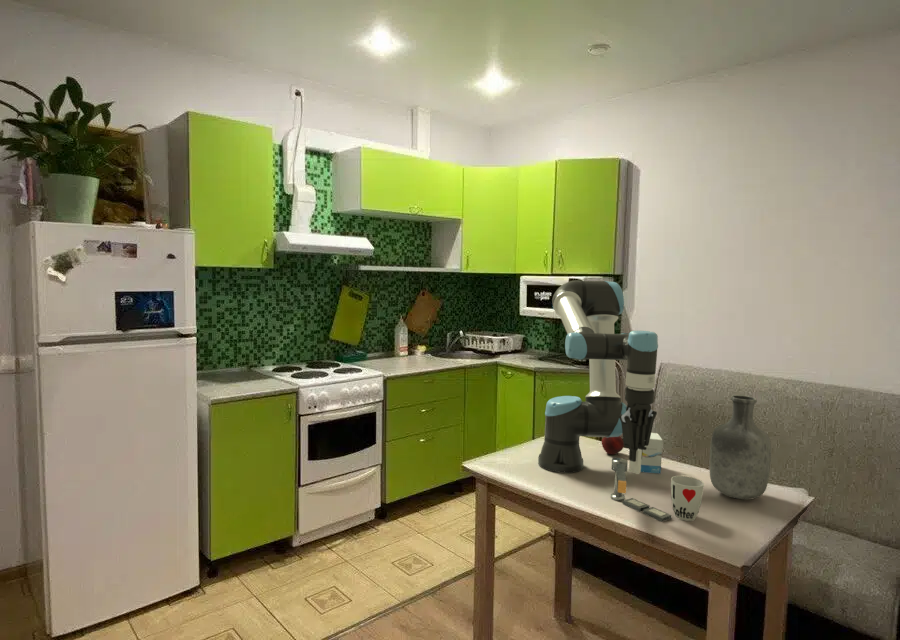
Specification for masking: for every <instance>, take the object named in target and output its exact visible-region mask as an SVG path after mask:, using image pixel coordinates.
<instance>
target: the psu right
mask: <svg viewBox="0 0 900 640" xmlns="http://www.w3.org/2000/svg"><path fill="white" fill-rule="evenodd" d="M642 514H644V515H646V516H648V517H650V518H653V519H655V520H657V521H659V522H665V521H669V520H672V514H670V513H667V512H665V511H663V510H661V509H658V508H656V507H654V506H651V507H650V508H647V509H644V510H643V511H642Z"/></svg>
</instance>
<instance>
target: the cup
mask: <svg viewBox="0 0 900 640" xmlns="http://www.w3.org/2000/svg"><path fill="white" fill-rule="evenodd" d="M670 478H671V479H670V494H671V496H670V497H671V503H672V504H671V505H672V509H673V514H674V516H675V518H677V519H679V520H681V521H684V522H685V521H686V522H693V521H695V519H696V518H697V515H698V514H699V510H700V507H701V502H702V499H703V493H704V487H705V483H704V482H703V481H702V480H700V479H699V478H696V477H692V476H687V475H675V476H672V477H670Z"/></svg>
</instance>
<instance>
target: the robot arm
mask: <svg viewBox="0 0 900 640" xmlns="http://www.w3.org/2000/svg"><path fill="white" fill-rule="evenodd" d="M551 302H552V308H553V310H554V312H555V313H556V314H557V315H558V316H559V317H560V319H561V322H562V325H563V327H564V329H565V332H566V336H565V342H564V349H565V354H566V355H565V356H566V357H568V358H569V359H577V360H588V361H589V362H588V363H589V392H588V393H587V394H586V395H585V400H584V401H583V400H582V399H581V398H580V397H579V396H575V395H573V396H572V395H562V396H561V395H560V396H555V397H552V398H549V400H548V401H546V405H545V412H544V416H545V417H544V418H545V419H544V421H545V423H544V437H543V438H544V442H543V445H542V447H541V450H540V453H539V455H538V460H537V461H538V462H537V463H538V465H539V466H540V467H541V468H542V469H545V470H547V471H550V472H556V473H563V474H564V473H566V474H567V473H576V472H580V471H582V470H583V469H584V458H583V456H582V451H581V447H580V437H594V438H595V437H596V438H604V437H607V438H609V437H619V436H620V437H621V436H622V440H623V442H624V447H623V448H627V449H629V450H628V451H629V452H628V460H629V461H628V464H629V465H628V466H629V467H628V471H629V472H631V473H634V474H636V475H639V474H641V473H642V472H641V460H642V452H643V450H646V449H647V448H646V447H644V446H648V445H649V440H650V436H651V433H652V431H653V426H654V421H655V419H656V416H657V413H658V412H657V411H655V410H654V409H652V406H651V405H652V404H654V402H655V390H654V389H655V387H656V386H655V385H656V371H657V358H658V349H659V343H658V341H659V339H658V338H659V337H658V333H656V332H654V331H649V330H632V331H630V332H622V333H615V323H616V322H617V321H618V320H619V315H622V313H624V305H625V299H624V293H623V289H622V287H621V286H620V284H619V283H617V282H616V281H608V280H577V279H576V280H570V281H568V282H565V283H563V284H562V285H560V286H559V287H558V288H557V289H556V291H555V292H554V294H553V296H552V299H551ZM616 361H626V370H625V371H626V374H625V385H626V387H625V389H624V391H625V392H624V401H625V402H627V404H626V403H624V402H623V401H621V400H622V398H621V397H622V396H621V395H619V394H618V393H617V389H616V383H617V380H616Z"/></svg>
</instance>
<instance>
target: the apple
mask: <svg viewBox="0 0 900 640" xmlns="http://www.w3.org/2000/svg"><path fill="white" fill-rule="evenodd" d="M601 446H602V449H603V450H604V451H605V452H606V453H607V454H608V455H611V456H612V455H616V454H617V455H619V453H620V452H622V450H623V449H624V448H625V447H624V442H623V437H621V435H620V436H619V437H609V438H607V437H602V439H601Z"/></svg>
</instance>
